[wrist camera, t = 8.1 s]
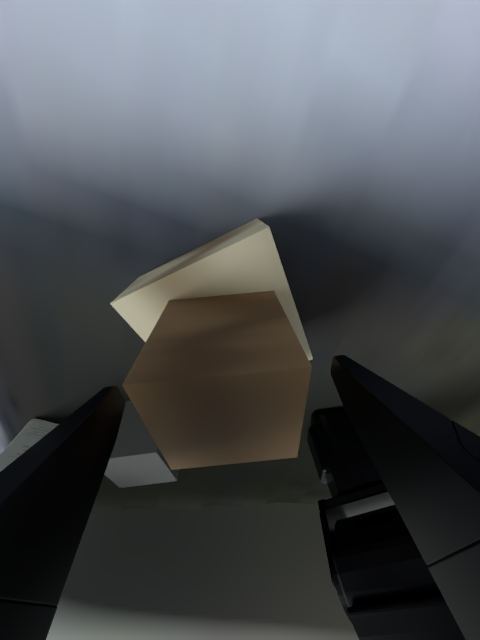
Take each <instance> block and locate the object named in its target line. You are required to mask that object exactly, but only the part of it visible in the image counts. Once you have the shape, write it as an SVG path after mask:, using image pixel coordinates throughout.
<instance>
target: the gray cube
mask: <svg viewBox="0 0 480 640" xmlns="http://www.w3.org/2000/svg"><path fill="white" fill-rule="evenodd" d="M178 473H179V469H175V470H171V468H170V467H169V465H168V463H167V461H166V460H165V458H164V456H163V455H162V453H161V451H160V449H159V448H158V446H157V444H156V443H155V441H154V439H153V437H152V436H151V434H150V432H149V431H148V429H147V427H146V425H145V424H144V422H143V420H142V419H141V417H140V415H139V414H138V412H137V410H136V408H135V407H134V405H133V403H132V402H131V400H130V401H126V403H125V408H124V412H123V416H122V420H121V424H120V428H119V432H118V435H117V439H116V442H115V445H114V448H113V451H112V454H111V457H110V460H109V462H108V465H107V468H106V471H105V475H106V476H107V477H108V478H109V479H110V480H112V481H113V482H114V483H115V484H116V485H117V486H119V487H120V488H123V487H131V486H139V485H147V484H155V483H163V482H172V481H177V479H178Z"/></svg>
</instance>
